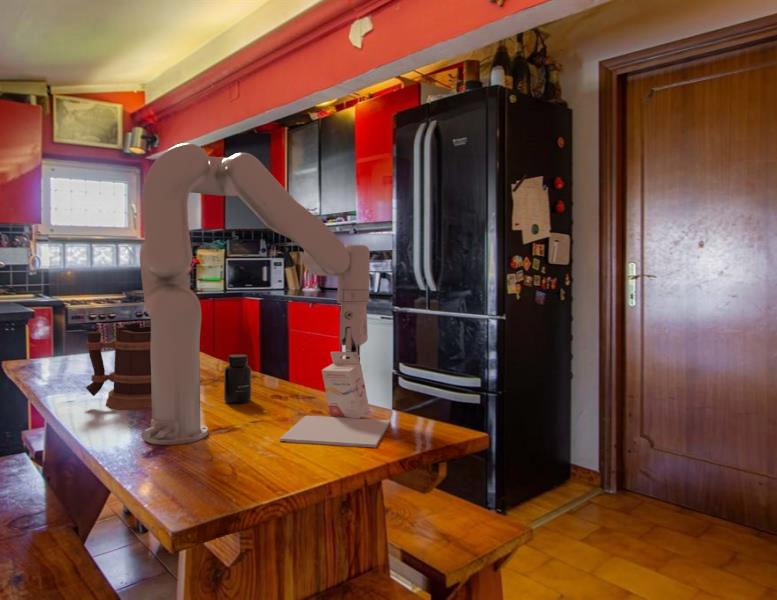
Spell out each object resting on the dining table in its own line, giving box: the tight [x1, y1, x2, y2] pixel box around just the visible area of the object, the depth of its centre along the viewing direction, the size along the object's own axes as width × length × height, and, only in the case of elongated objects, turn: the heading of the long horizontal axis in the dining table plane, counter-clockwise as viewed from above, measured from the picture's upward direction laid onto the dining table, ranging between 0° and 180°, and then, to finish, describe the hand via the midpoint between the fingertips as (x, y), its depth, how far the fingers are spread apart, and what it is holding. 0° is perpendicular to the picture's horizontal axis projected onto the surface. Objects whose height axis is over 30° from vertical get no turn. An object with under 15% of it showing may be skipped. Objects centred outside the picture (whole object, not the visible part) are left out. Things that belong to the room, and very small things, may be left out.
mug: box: [85, 321, 152, 411], centre depth 150 cm, size 18×23×20 cm
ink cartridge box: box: [321, 351, 370, 419], centre depth 137 cm, size 9×5×15 cm, turn 58°
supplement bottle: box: [223, 354, 252, 405], centre depth 152 cm, size 7×7×12 cm
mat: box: [278, 415, 391, 448], centre depth 127 cm, size 18×20×1 cm
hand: (352, 373), depth 140 cm, fingers closed
